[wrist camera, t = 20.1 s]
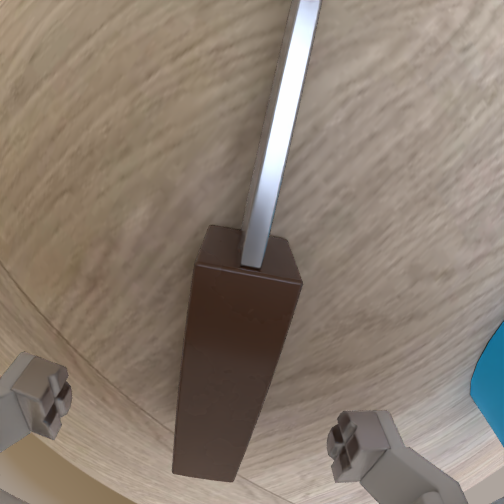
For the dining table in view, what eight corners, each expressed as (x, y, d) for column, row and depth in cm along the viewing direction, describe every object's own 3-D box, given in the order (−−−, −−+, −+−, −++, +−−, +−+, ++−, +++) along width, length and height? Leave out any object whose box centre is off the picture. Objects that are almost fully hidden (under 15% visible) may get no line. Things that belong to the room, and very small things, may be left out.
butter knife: (181, 420, 13) (171, 474, 10) (282, -83, 6) (293, -135, 3) (234, 428, 13) (233, 483, 10) (353, -65, 6) (382, -110, 3)
